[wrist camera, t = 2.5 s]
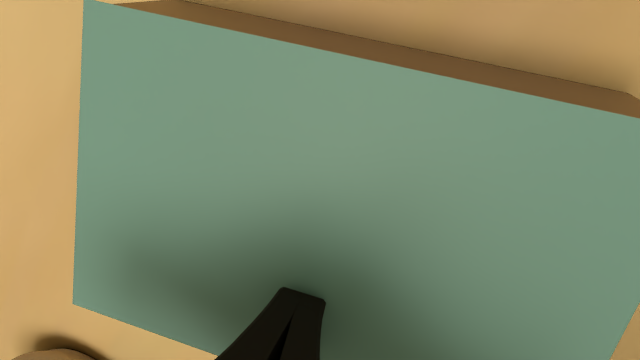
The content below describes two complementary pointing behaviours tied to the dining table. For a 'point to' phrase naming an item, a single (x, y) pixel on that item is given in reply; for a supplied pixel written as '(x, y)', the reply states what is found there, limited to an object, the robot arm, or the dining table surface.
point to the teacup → (54, 355)
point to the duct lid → (345, 199)
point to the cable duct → (399, 56)
